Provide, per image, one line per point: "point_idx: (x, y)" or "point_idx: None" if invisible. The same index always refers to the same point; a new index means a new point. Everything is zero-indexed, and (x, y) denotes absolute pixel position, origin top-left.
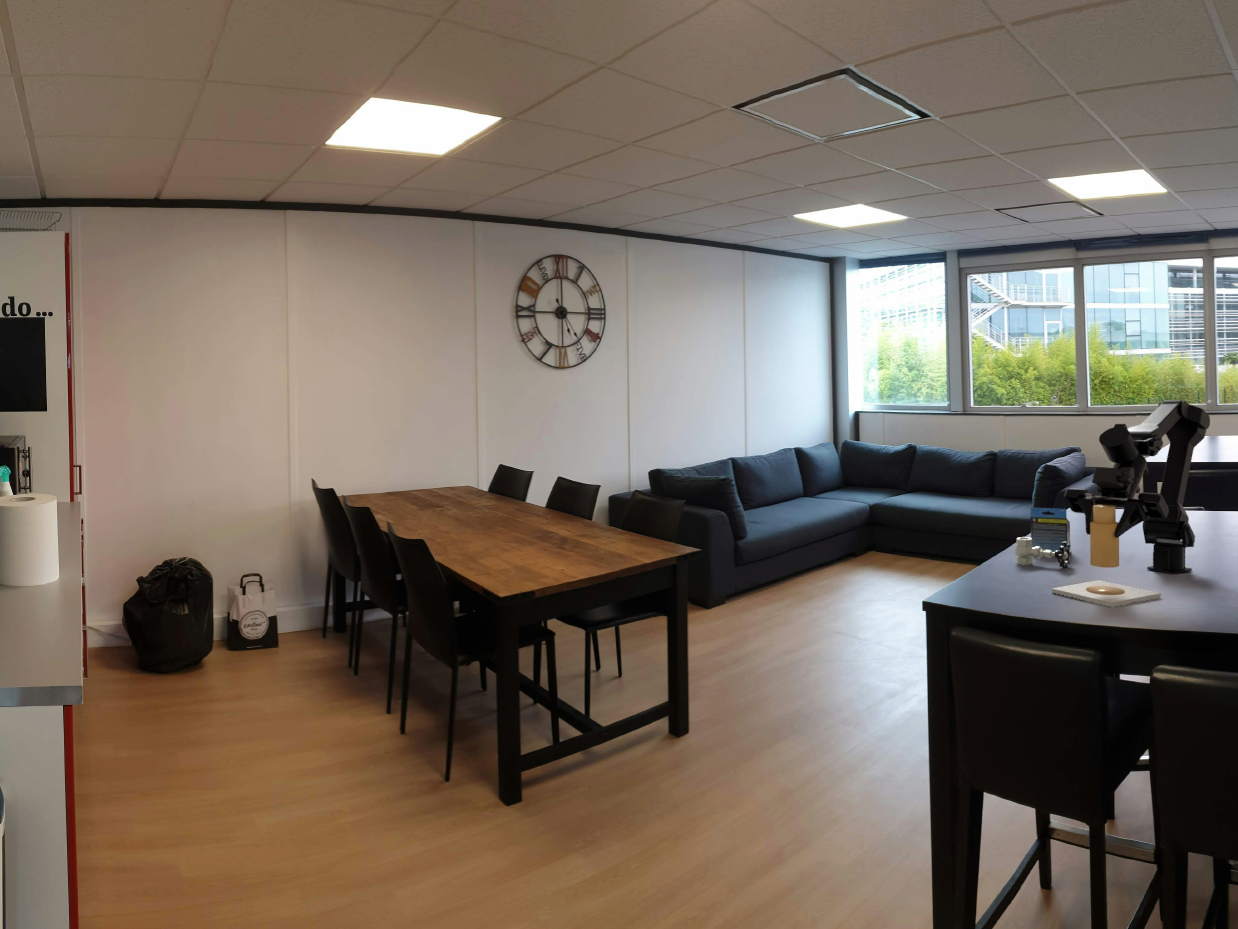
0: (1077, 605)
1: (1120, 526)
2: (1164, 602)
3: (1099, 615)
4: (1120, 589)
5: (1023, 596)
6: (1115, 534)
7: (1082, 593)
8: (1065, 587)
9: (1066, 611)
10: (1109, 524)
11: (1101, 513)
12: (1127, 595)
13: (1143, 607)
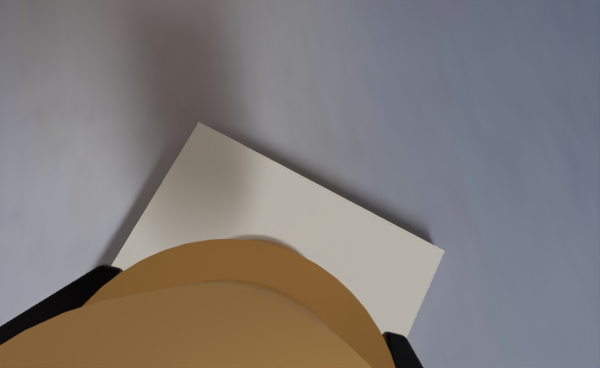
0: (310, 105)
1: (14, 324)
2: None
3: (222, 8)
4: None
5: (504, 149)
6: (109, 266)
7: (321, 218)
8: (405, 296)
9: (322, 12)
10: (137, 286)
11: (218, 286)
12: None
13: (102, 183)
